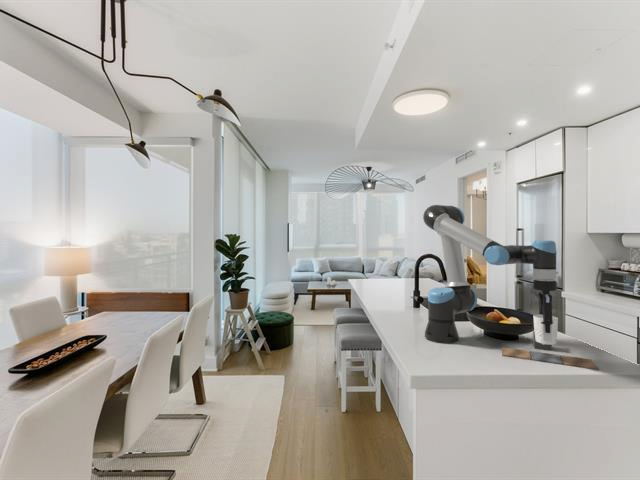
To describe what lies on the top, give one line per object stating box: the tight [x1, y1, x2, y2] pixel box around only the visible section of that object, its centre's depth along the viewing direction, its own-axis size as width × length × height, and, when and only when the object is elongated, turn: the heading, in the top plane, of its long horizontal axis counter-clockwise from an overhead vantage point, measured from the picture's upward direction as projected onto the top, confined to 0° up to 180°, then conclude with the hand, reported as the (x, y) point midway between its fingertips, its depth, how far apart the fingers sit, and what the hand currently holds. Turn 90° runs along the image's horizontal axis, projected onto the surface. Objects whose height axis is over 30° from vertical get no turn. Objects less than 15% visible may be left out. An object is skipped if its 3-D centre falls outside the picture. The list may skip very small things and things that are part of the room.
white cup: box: [532, 313, 559, 346], centre depth 124 cm, size 8×8×10 cm
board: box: [501, 346, 600, 371], centre depth 124 cm, size 30×10×1 cm, turn 62°
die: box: [532, 330, 553, 352], centre depth 136 cm, size 6×6×6 cm
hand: (545, 338), depth 124 cm, fingers closed on white cup, 8 cm apart
